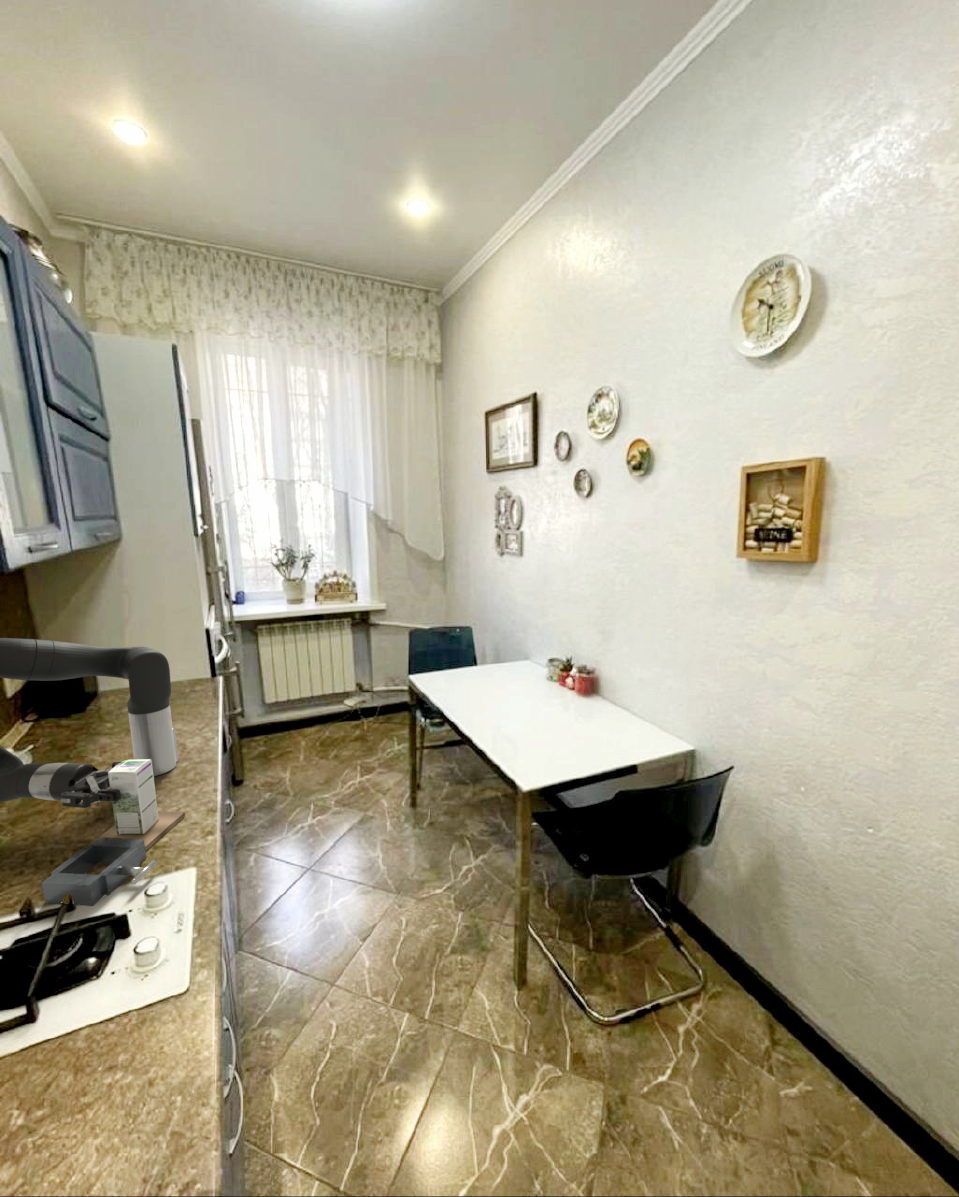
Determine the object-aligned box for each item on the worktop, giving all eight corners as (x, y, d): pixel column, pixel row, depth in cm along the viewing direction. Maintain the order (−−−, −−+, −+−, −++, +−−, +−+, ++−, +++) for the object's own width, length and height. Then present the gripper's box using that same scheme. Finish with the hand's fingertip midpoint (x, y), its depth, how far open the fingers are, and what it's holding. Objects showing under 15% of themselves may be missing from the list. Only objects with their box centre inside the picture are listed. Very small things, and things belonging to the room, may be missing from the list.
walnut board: (134, 814, 113) (134, 810, 113) (184, 816, 112) (184, 812, 112) (90, 848, 101) (89, 844, 101) (145, 851, 100) (145, 847, 100)
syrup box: (160, 819, 109) (152, 757, 107) (143, 835, 104) (135, 771, 101) (133, 819, 109) (126, 758, 107) (115, 836, 103) (106, 771, 101)
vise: (100, 855, 99) (97, 837, 99) (171, 858, 98) (169, 840, 97) (40, 903, 87) (37, 882, 86) (121, 907, 86) (118, 887, 85)
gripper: (29, 782, 98) (105, 785, 97) (89, 749, 112) (157, 752, 111) (34, 817, 100) (110, 820, 98) (94, 780, 114) (161, 783, 112)
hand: (135, 784), depth 105 cm, fingers open, 8 cm apart
